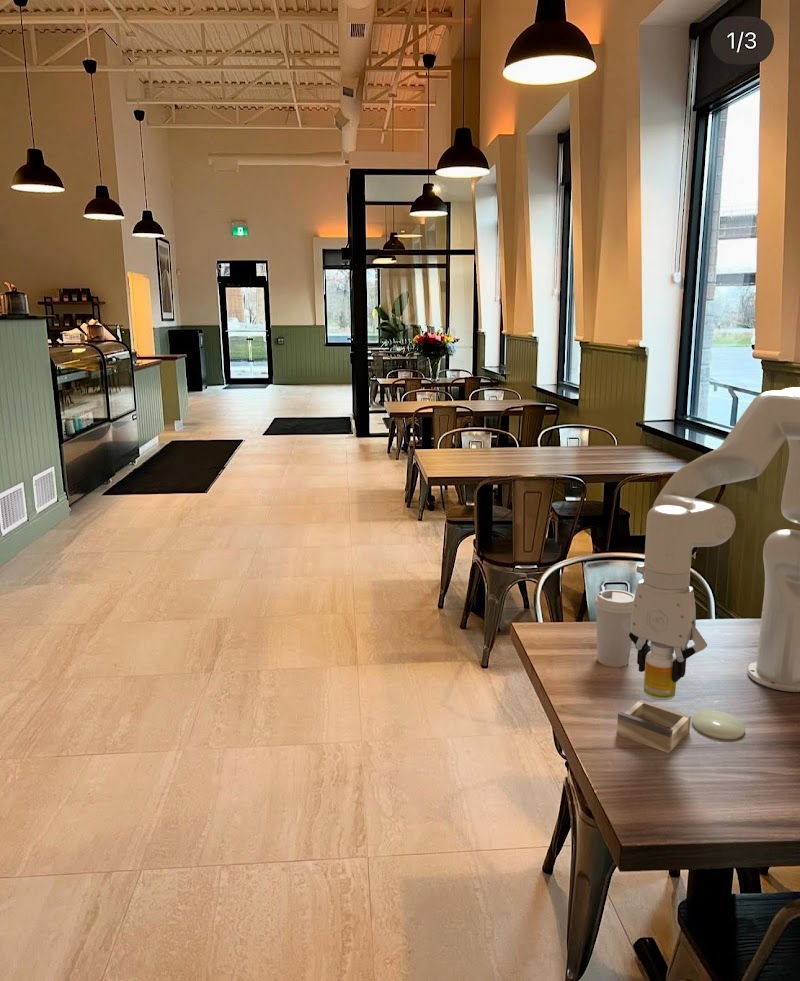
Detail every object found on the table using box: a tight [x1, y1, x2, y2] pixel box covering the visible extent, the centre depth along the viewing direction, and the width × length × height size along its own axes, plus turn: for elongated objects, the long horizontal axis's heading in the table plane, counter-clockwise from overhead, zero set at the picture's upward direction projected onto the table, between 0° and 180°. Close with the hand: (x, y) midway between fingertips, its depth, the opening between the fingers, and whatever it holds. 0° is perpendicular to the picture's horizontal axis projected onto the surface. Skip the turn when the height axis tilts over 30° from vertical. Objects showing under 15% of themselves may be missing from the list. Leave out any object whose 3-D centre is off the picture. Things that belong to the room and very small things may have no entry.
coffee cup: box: [593, 589, 635, 668], centre depth 165 cm, size 10×10×15 cm
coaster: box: [691, 709, 746, 740], centre depth 140 cm, size 9×9×1 cm
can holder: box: [616, 699, 692, 754], centre depth 137 cm, size 10×10×4 cm
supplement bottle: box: [643, 641, 677, 701], centre depth 135 cm, size 5×5×10 cm
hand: (660, 673), depth 136 cm, fingers closed on supplement bottle, 5 cm apart
